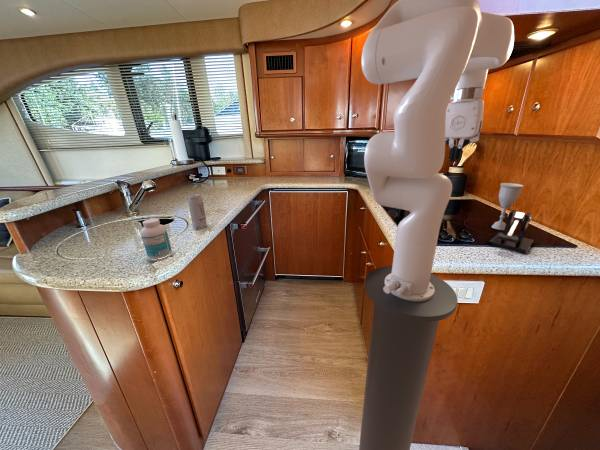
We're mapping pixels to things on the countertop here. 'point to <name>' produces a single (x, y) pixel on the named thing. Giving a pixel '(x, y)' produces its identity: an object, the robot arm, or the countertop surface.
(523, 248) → the bracket
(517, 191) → the chalice
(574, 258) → the countertop surface
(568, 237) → the countertop surface
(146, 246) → the pill bottle
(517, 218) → the lever
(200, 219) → the energy drink can
